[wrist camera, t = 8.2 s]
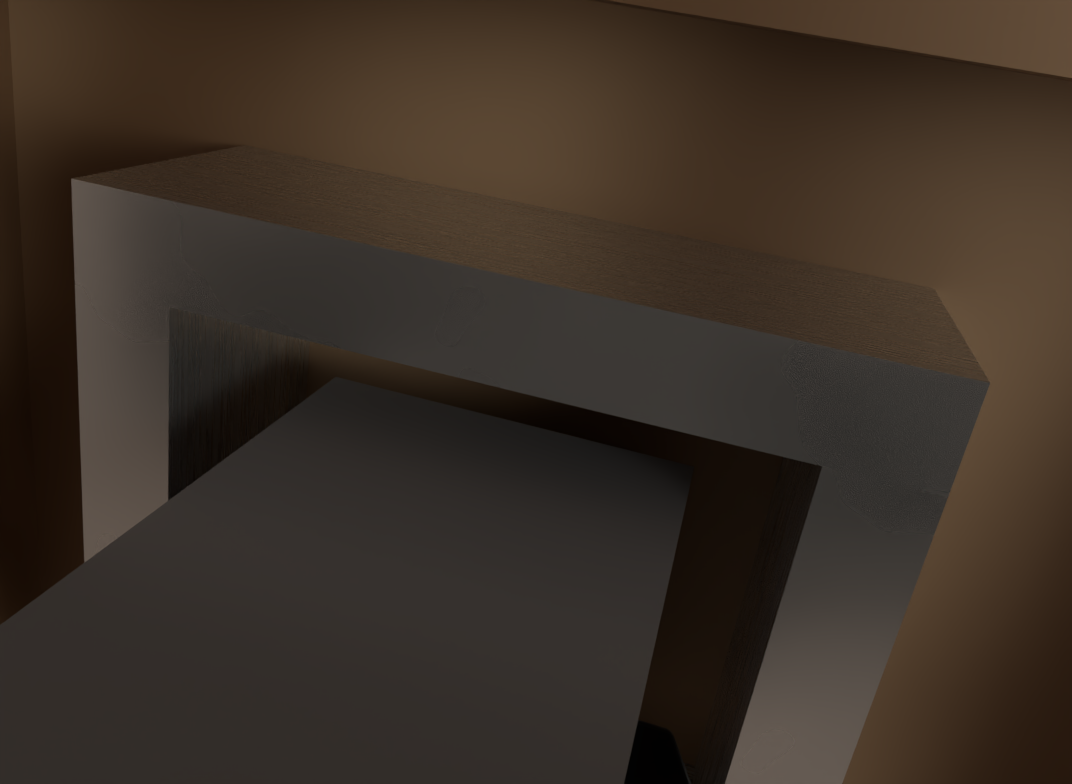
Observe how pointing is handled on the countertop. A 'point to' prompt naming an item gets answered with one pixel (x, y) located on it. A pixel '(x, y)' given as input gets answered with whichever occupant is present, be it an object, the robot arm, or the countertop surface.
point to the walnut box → (648, 202)
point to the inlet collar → (543, 384)
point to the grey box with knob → (358, 611)
